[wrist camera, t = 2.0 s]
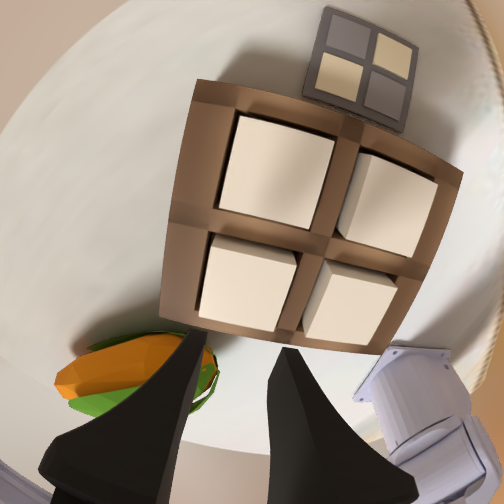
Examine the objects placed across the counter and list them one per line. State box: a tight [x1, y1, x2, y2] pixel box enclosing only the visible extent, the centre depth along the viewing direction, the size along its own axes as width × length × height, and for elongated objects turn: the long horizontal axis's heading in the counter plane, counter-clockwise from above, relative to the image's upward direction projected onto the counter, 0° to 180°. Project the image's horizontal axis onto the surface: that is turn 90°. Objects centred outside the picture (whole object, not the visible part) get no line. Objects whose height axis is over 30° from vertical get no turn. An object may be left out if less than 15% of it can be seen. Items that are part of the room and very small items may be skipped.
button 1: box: [301, 258, 398, 345], centre depth 16 cm, size 4×4×2 cm
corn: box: [54, 331, 220, 418], centre depth 20 cm, size 7×8×20 cm
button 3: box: [199, 233, 297, 332], centre depth 16 cm, size 4×4×2 cm
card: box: [302, 6, 419, 133], centre depth 13 cm, size 7×7×1 cm
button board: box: [159, 79, 464, 355], centre depth 16 cm, size 16×14×4 cm
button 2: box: [335, 153, 438, 258], centre depth 14 cm, size 4×4×2 cm
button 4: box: [219, 116, 335, 229], centre depth 13 cm, size 4×4×2 cm
